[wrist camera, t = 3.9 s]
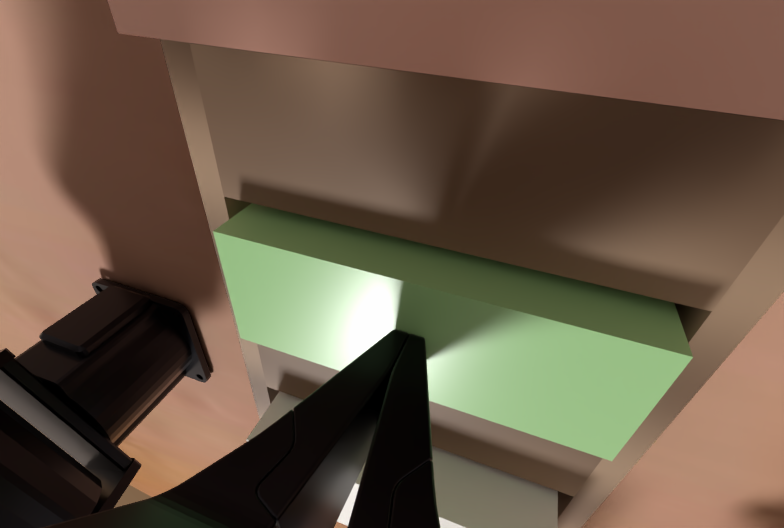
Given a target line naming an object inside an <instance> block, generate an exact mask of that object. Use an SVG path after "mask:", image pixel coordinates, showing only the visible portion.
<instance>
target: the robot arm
mask: <svg viewBox="0 0 784 528" xmlns="http://www.w3.org/2000/svg"><path fill="white" fill-rule="evenodd" d="M92 286H93V288H94V290H95V292H96V294H97V295H96V296H94V297H93V298H91V299H90V300H88V301H87V302H85V303H84V304H82V305H81V306H79V307H78V308H76V309H75V310H73V311H72V312H71V313H69V314H68V315H66V316H65V317H63V318H62V319H60V320H59V321H57V322H56V323H54V324H53V325H51V326H50V327H48V328H47V329H45V330H44V331H43V332H42V333H41V334H40V339H41V341H39V342H38V343H36V344H35V345H33V346H32V347H30V348H29V349H28V350H26V351H25V352H23V353H22V354H20V355H19V356H17V357H16V356H15V355H14V354H12V353H11V352H10V351H9V350H8V349H7V348H5V349H2V350H0V399H1V400H2V401H3V402H4V403H3V402H2V401H1V400H0V528H334V526H335V524H336V522H337V520H338V518H339V516H340V513H341V511H342V509H343V507H344V505H345V503H346V501H347V499H348V497H349V495H350V493H351V491H352V488H353V486H354V484H355V482H356V480H357V478H358V476H359V474H360V472H361V470H362V468H363V465H364V463H365V461H366V463H365V467H364V470H363V474H362V477H361V481H360V485H359V488H358V492H357V495H356V499H355V502H354V506H353V510H352V513H351V517H350V520H349V524H348V527H347V528H440V522H439V516H438V509H437V502H436V492H435V482H434V467H433V462H432V460H433V454H432V438H431V422H430V406H429V390H428V375H427V359H426V343H425V338H424V337H421V336H417V335H414V334H410V335H409V334H408V333H407V332H404V331H400V330H397V329H394V330H392V331H391V332H389V333H388V334H387V335H386V336H384V337H383V338H382V339H380V340H379V341H378V342H377V343H375V344H374V345H373V346H372V347H370V348H369V349H368V350H366V351H365V352H364V353H363V354H361V355H360V356H359V357H358V358H356V359H355V360H354V361H352V362H351V363H350V364H349V365H347V366H346V367H345V368H344V369H342V370H341V371H340V372H338V373H337V374H336V375H335V376H333V377H332V378H331V379H330V380H328V381H327V382H326V383H324V384H323V385H322V386H321V387H319V388H318V389H317V390H316V391H314V392H313V393H312V394H310V395H309V396H308V397H307V398H305V399H304V400H303V401H301V402H300V403H299V404H298V405H296V406H295V407H294V408H293V410H290V411H289V412H287V413H286V414H285V415H283V416H282V417H281V418H280V419H278V420H277V421H276V422H274V423H273V424H272V425H270V426H269V427H268V428H266V429H265V430H264V431H262V432H261V433H260V434H258V435H257V436H255V437H254V438H252V439H250V440H249V441H247V442H246V443H244V444H243V445H241V446H240V447H238V448H237V449H235V450H234V451H232V452H231V453H229V454H227V455H226V456H224V457H223V458H221V459H219V460H218V461H216V462H215V463H213V464H212V465H210V466H208V467H207V468H205V469H204V470H202V471H201V472H199V473H197V474H196V475H194V476H193V477H191V478H189V479H188V480H186V481H185V482H183V483H181V484H180V485H178V486H176V487H174V488H172V489H170V490H168V491H166V492H164V493H162V494H159V495H157V496H154V497H152V498H149V499H146V500H142V501H138V502H135V503H131V504H127V505H124V506H120V507H116V508H114V506H115V505H116V503H117V502H118V500H119V499H120V497H121V496H122V494H123V493H124V491H125V490H126V488H127V487H128V485H129V484H130V482H131V481H132V479H133V478H134V476H135V475H136V473H137V472H138V470H139V469H140V467H141V464H140V463H139V462H138V461H137V460H135V459H134V458H130V457H129V456H128V455H126V454H125V453H124V452H123V451H122V450H121V449H119V448H118V446H119V445H120V444H121V443H122V441H123V440H124V439H125V438H126V437H127V436H128V435H129V434H130V433H131V432H132V431H133V430H134V429H135V428H136V427H137V426H138V425H139V424H140V423H141V422H142V420H143V419H144V418H145V417H146V416H147V415H148V414H149V413H150V412H151V411H152V410H153V409H154V408H155V407H156V406H157V405H158V404H159V403H160V402H161V400H162V399H163V398H164V397H165V396H166V395H167V394H168V393H169V392H170V391H171V390H172V389H173V388H174V387H175V386H176V385H177V384H178V383H179V382H180V381H181V379H182V378H183V377H184V376H187V377H190V378H193V379H195V380H198V381H201V382H206V381H207V380H208V379H209V378H210V377H211V374H210V371H209V368H208V365H207V363H206V360H205V357H204V354H203V351H202V348H201V346H200V343H199V340H198V337H197V334H196V331H195V329H194V326H193V323H192V320H191V317H190V314H189V312H188V310H187V309H186V308H185V307H184V306H183V305H181V304H179V303H176V302H173V301H170V300H167V299H164V298H161V297H158V296H155V295H151V294H148V293H145V292H142V291H139V290H136V289H133V288H130V287H127V286H123V285H120V284H117V283H114V282H111V281H108V280H105V279H101V278H100V279H98V280H97V281H95V282H93V283H92ZM14 357H16V358H15V359H14ZM5 403H6V404H7V405H8V406H9V407H10V408H9V407H8V406H7V405H6V404H5ZM11 408H12V409H13V410H14V411H13V410H12V409H11ZM16 412H17V413H18V414H19V415H18V414H17V413H16ZM20 415H21V416H22V417H23V418H24V419H23V418H22V417H21V416H20ZM25 419H26V420H27V421H28V422H29V423H28V422H27V421H26V420H25ZM30 423H31V424H32V425H33V426H34V427H33V426H32V425H31V424H30ZM35 427H36V428H37V429H38V430H39V431H38V430H37V429H36V428H35ZM40 431H41V432H42V433H43V434H42V433H41V432H40ZM45 435H46V436H47V437H48V438H47V437H46V436H45ZM50 439H51V440H52V441H53V442H52V441H51V440H50ZM55 443H56V444H57V445H58V446H57V445H56V444H55ZM60 447H61V448H62V449H63V450H62V449H61V448H60ZM65 451H66V452H67V453H68V454H67V453H66V452H65ZM70 455H71V456H72V457H73V458H72V457H71V456H70ZM75 459H76V460H77V461H78V462H77V461H76V460H75ZM80 463H81V464H82V465H83V466H82V465H81V464H80Z"/></svg>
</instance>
